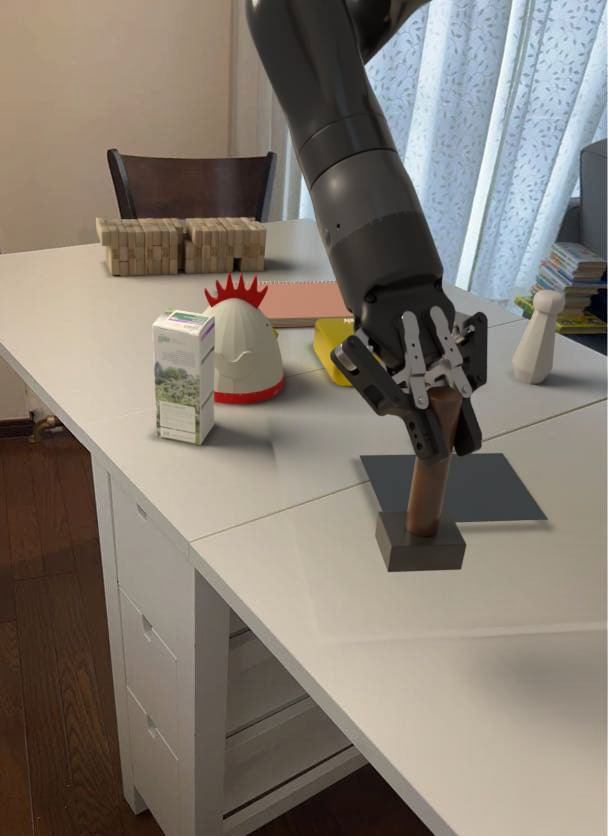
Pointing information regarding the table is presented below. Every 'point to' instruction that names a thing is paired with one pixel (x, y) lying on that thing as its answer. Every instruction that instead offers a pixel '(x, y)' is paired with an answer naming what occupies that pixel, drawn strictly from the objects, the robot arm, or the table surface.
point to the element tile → (333, 344)
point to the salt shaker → (538, 339)
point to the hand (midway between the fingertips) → (454, 456)
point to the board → (458, 487)
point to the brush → (426, 506)
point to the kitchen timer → (243, 345)
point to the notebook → (300, 302)
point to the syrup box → (184, 375)
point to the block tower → (182, 245)
